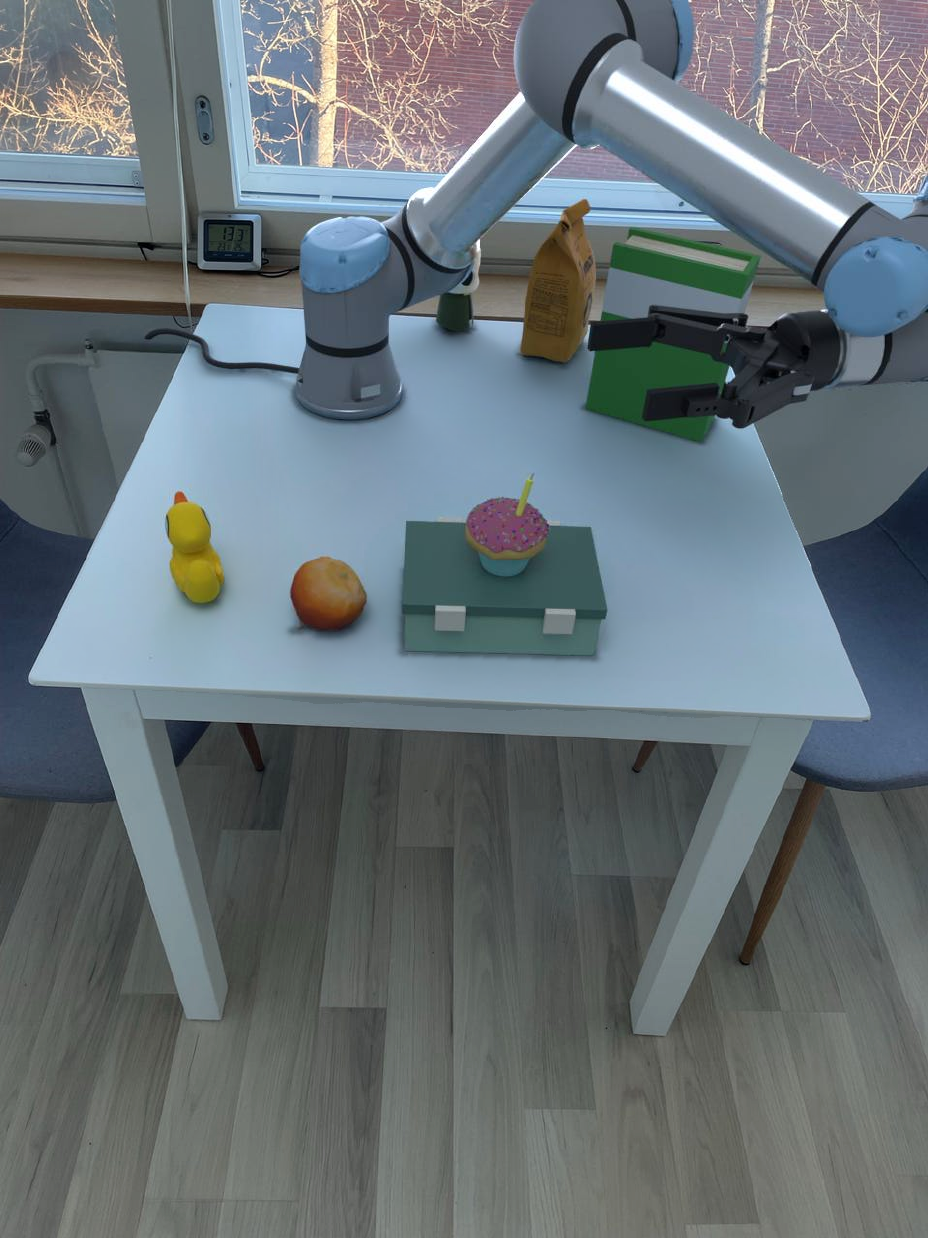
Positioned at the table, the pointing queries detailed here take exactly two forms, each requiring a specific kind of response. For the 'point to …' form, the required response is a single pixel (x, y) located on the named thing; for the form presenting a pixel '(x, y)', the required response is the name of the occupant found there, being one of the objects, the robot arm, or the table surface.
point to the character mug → (459, 302)
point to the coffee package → (560, 290)
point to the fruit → (327, 594)
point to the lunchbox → (500, 594)
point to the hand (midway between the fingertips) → (616, 369)
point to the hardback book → (672, 279)
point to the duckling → (193, 551)
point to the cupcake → (506, 533)
